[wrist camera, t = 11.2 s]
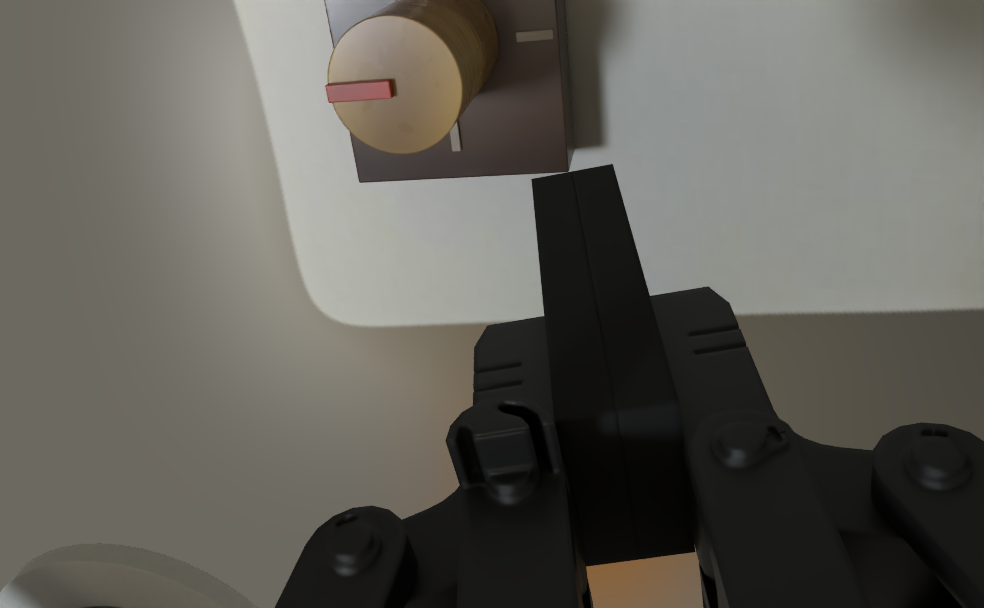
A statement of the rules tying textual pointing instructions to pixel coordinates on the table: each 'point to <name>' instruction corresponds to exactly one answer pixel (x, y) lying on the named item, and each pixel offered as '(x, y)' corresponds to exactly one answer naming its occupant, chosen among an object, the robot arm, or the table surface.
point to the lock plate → (490, 101)
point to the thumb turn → (411, 71)
